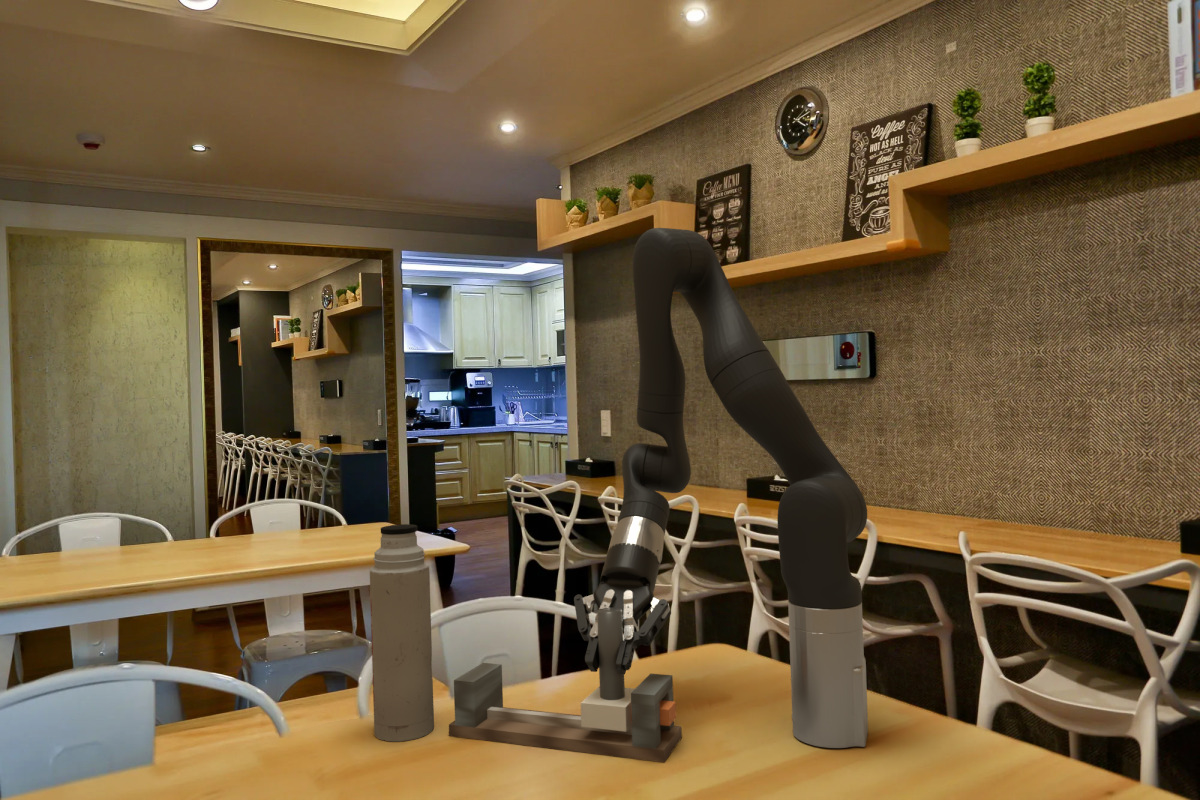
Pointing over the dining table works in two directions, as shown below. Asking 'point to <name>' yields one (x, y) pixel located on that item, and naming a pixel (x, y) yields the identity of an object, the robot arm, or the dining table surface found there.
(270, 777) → the dining table surface
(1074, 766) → the dining table surface
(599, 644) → the carriage
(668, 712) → the reset pin
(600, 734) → the rail board
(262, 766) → the dining table surface
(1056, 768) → the dining table surface
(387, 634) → the thermos bottle
